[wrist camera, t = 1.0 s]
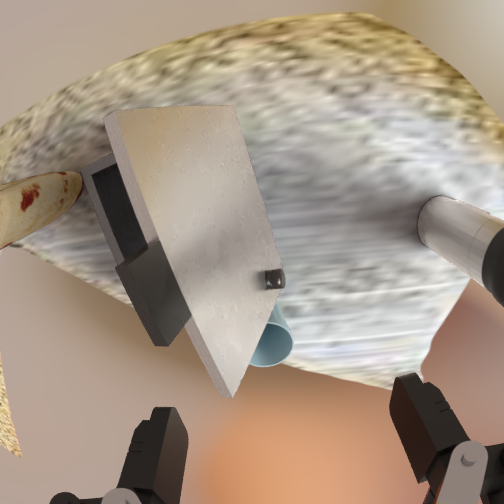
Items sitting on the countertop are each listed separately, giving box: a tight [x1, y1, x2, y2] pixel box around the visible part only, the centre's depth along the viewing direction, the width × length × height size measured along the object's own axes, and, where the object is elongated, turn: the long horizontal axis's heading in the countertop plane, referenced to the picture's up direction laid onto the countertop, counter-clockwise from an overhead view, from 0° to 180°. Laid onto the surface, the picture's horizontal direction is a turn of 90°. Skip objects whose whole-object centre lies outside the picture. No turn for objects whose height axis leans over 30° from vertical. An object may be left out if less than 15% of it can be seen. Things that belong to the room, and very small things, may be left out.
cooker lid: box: [103, 105, 286, 398], centre depth 24 cm, size 21×20×2 cm
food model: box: [0, 171, 83, 249], centre depth 32 cm, size 10×7×20 cm
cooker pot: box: [80, 153, 147, 265], centre depth 39 cm, size 18×26×10 cm
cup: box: [249, 301, 294, 367], centre depth 45 cm, size 8×8×10 cm
